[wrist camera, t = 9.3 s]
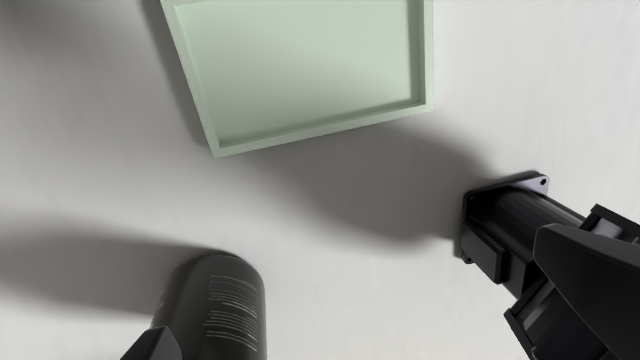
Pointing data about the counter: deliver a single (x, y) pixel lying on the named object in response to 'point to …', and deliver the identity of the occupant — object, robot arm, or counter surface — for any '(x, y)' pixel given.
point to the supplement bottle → (215, 309)
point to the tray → (301, 66)
